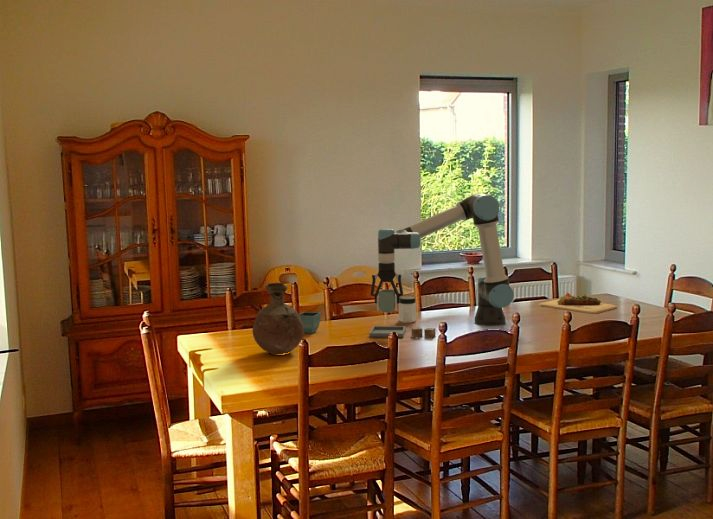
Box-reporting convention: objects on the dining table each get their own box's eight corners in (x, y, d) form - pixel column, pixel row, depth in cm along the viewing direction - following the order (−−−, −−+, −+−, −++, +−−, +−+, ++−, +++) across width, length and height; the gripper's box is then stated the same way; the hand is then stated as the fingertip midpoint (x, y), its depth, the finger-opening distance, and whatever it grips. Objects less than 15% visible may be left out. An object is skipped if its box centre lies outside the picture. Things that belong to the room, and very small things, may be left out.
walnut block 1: (419, 335, 356) (419, 327, 355) (422, 337, 352) (422, 328, 351) (411, 336, 355) (411, 327, 354) (414, 338, 351) (413, 329, 350)
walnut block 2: (435, 336, 352) (435, 328, 352) (432, 338, 349) (432, 330, 348) (427, 336, 354) (427, 327, 354) (424, 338, 350) (424, 329, 350)
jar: (398, 322, 385) (398, 299, 383) (398, 319, 393) (398, 296, 391) (416, 322, 384) (416, 298, 383) (416, 319, 392) (416, 296, 391)
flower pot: (297, 333, 365) (296, 315, 364) (304, 329, 373) (304, 311, 372) (314, 334, 362) (313, 316, 361) (321, 330, 370) (320, 312, 369)
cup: (394, 313, 354) (393, 292, 353) (377, 313, 356) (377, 292, 355) (396, 310, 362) (396, 289, 361) (380, 310, 363) (380, 289, 362)
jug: (261, 362, 314) (258, 289, 310) (247, 350, 334) (244, 282, 330) (311, 355, 323) (309, 285, 319) (294, 345, 342) (292, 278, 338)
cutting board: (537, 306, 421) (537, 293, 420) (562, 301, 436) (562, 288, 435) (593, 315, 394) (594, 300, 394) (618, 309, 410) (618, 295, 409)
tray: (405, 330, 367) (405, 326, 366) (403, 337, 351) (403, 333, 351) (373, 330, 369) (373, 326, 369) (369, 337, 354) (369, 333, 353)
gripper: (409, 261, 358) (409, 309, 361) (365, 261, 361) (366, 308, 364) (408, 263, 351) (408, 312, 354) (363, 263, 354) (364, 311, 357)
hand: (387, 310), depth 359 cm, fingers closed on cup, 8 cm apart
